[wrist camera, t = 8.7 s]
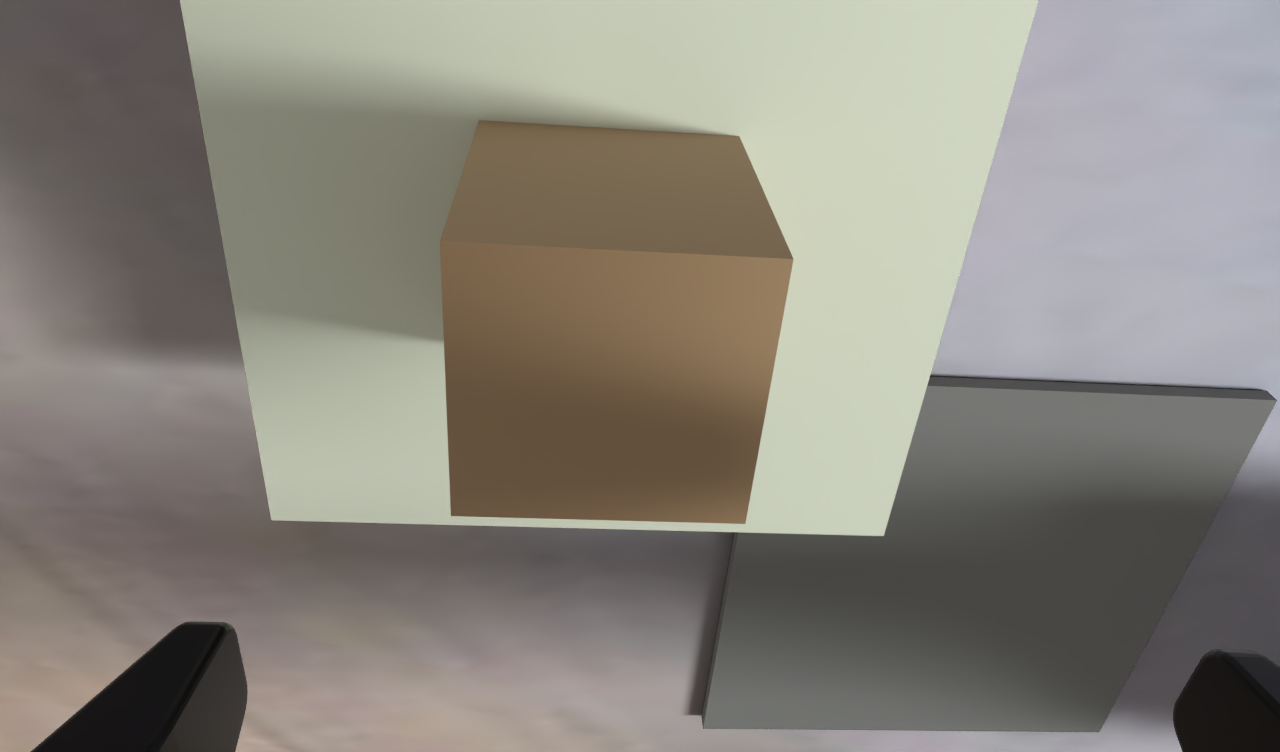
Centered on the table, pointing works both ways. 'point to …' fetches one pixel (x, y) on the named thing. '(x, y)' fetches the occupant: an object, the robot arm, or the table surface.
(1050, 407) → the mat
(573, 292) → the lid
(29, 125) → the table surface
